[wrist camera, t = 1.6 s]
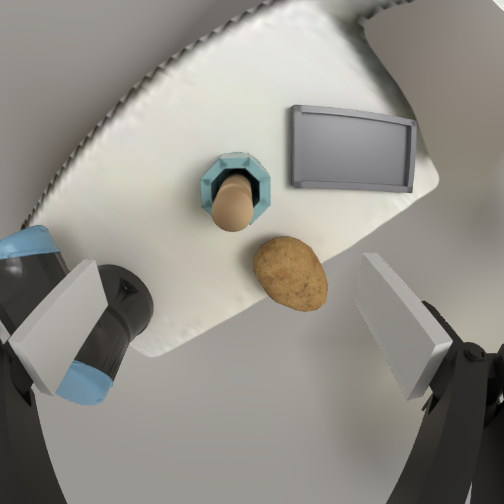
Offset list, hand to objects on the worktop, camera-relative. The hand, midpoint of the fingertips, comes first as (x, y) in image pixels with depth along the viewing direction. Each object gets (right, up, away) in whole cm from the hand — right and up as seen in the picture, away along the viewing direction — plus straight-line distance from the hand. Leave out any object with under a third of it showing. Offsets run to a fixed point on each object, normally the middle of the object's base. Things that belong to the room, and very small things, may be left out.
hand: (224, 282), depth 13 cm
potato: (+7, 0, +33) cm, 34 cm away
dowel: (-1, +12, +26) cm, 29 cm away
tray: (+17, +17, +26) cm, 35 cm away
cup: (-1, +12, +27) cm, 30 cm away
